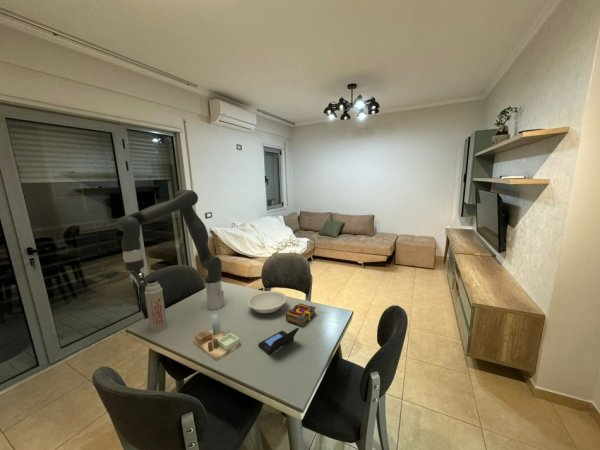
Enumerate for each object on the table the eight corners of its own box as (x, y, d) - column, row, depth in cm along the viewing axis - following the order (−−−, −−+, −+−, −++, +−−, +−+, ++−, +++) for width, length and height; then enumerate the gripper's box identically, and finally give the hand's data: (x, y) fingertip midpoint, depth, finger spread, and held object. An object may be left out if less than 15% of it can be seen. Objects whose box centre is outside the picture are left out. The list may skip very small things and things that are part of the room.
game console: (282, 332, 126) (281, 316, 125) (300, 344, 116) (299, 327, 115) (257, 346, 116) (256, 328, 114) (274, 360, 106) (273, 341, 104)
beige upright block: (207, 335, 123) (206, 329, 123) (212, 338, 120) (211, 333, 119) (195, 341, 119) (195, 335, 118) (200, 345, 115) (200, 339, 115)
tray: (231, 337, 121) (230, 332, 120) (239, 343, 116) (239, 338, 116) (218, 344, 115) (217, 340, 115) (226, 351, 111) (226, 346, 110)
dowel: (217, 330, 127) (216, 312, 125) (221, 332, 125) (220, 314, 123) (211, 333, 124) (209, 315, 123) (215, 336, 122) (213, 317, 120)
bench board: (216, 329, 130) (215, 321, 129) (240, 345, 116) (240, 336, 115) (192, 342, 120) (191, 333, 119) (216, 360, 106) (215, 351, 106)
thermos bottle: (166, 330, 131) (160, 280, 126) (149, 334, 127) (142, 284, 122) (167, 323, 138) (161, 276, 133) (150, 327, 134) (144, 279, 129)
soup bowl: (270, 324, 133) (270, 313, 132) (239, 313, 146) (238, 303, 145) (294, 305, 153) (294, 295, 152) (265, 297, 166) (264, 288, 165)
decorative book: (285, 321, 136) (285, 313, 135) (300, 308, 150) (300, 301, 149) (302, 327, 130) (302, 318, 129) (316, 313, 144) (316, 305, 143)
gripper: (148, 259, 112) (153, 292, 115) (137, 254, 122) (142, 284, 124) (128, 264, 107) (134, 298, 110) (119, 258, 116) (125, 290, 119)
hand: (139, 291), depth 117 cm, fingers open, 8 cm apart
